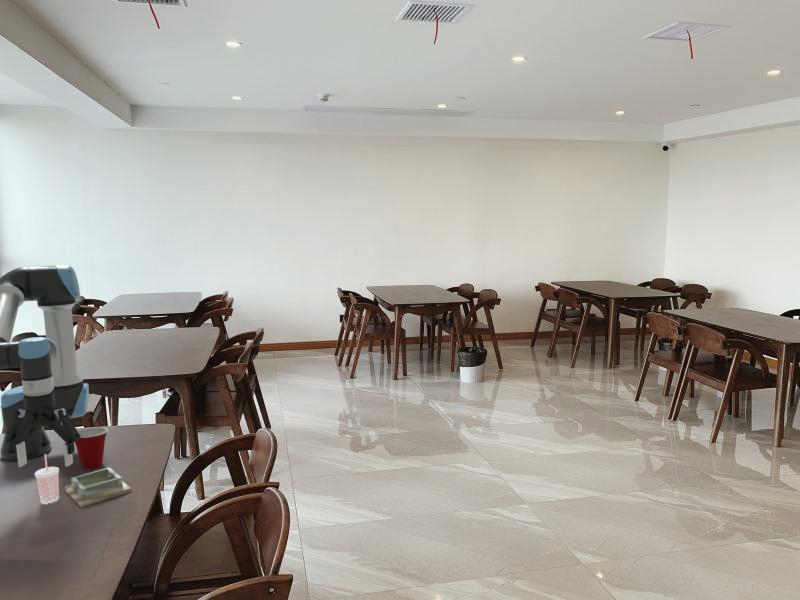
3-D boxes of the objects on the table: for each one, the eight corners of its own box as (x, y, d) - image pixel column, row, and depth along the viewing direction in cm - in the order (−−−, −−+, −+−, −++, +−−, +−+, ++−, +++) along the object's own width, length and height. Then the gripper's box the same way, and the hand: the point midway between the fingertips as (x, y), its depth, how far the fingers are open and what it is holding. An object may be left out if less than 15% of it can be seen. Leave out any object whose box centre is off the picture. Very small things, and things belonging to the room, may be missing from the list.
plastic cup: (117, 459, 207) (114, 425, 205) (98, 472, 196) (95, 436, 195) (87, 458, 208) (84, 424, 206) (67, 472, 197) (63, 436, 196)
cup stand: (64, 489, 185) (62, 476, 184) (112, 475, 194) (111, 463, 194) (80, 507, 173) (79, 493, 172) (131, 491, 182) (130, 478, 182)
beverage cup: (38, 507, 173) (33, 460, 171) (37, 499, 179) (32, 453, 177) (63, 501, 177) (58, 455, 175) (61, 493, 182) (56, 448, 180)
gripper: (-14, 397, 170) (-6, 470, 173) (74, 395, 169) (81, 469, 172) (4, 389, 177) (12, 460, 180) (89, 388, 176) (95, 459, 179)
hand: (46, 465), depth 176 cm, fingers open, 13 cm apart
